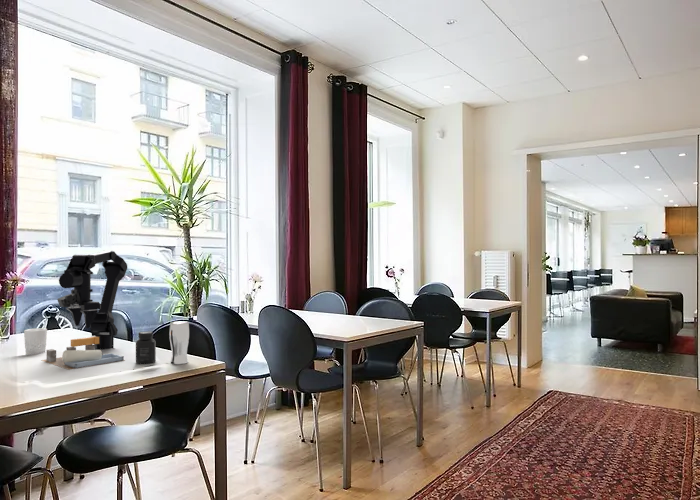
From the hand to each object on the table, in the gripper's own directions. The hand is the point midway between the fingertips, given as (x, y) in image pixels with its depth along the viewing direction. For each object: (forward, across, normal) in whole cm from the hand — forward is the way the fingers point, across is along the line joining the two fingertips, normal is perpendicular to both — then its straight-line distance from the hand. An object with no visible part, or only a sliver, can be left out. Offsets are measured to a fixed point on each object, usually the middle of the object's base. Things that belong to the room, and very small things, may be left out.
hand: (82, 326), depth 205 cm
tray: (+11, +17, -3) cm, 20 cm away
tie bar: (+7, +3, 0) cm, 7 cm away
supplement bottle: (+12, +31, +9) cm, 35 cm away
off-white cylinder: (+10, +17, -8) cm, 21 cm away
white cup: (+12, -21, -9) cm, 26 cm away
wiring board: (+12, +10, -4) cm, 16 cm away
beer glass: (+12, +37, +19) cm, 43 cm away
